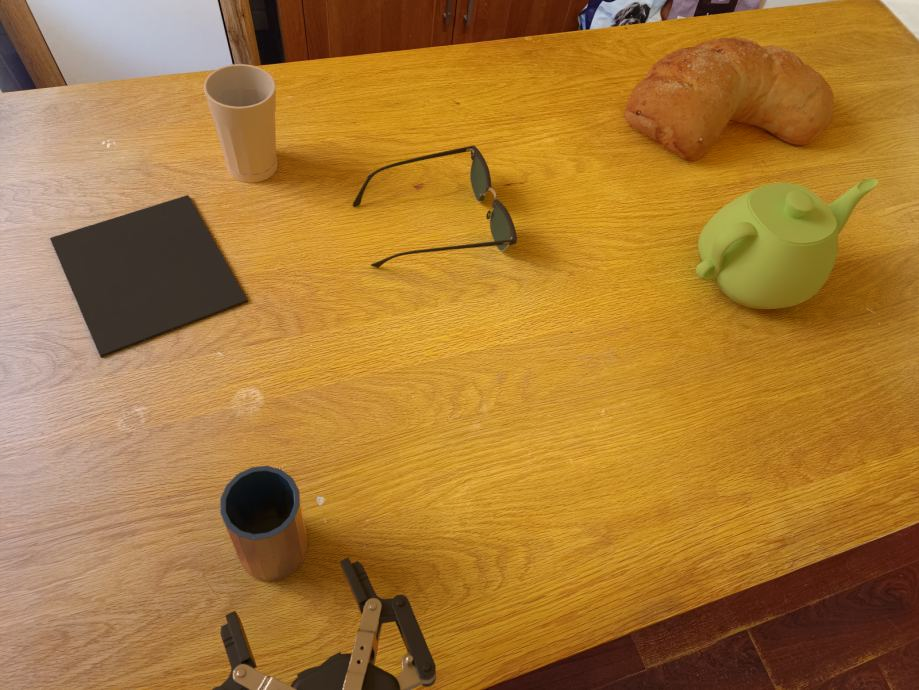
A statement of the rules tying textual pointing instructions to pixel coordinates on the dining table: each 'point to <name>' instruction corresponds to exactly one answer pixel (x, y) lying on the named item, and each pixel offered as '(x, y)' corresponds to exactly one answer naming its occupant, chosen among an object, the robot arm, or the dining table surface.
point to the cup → (244, 119)
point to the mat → (146, 274)
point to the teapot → (775, 243)
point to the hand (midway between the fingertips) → (289, 589)
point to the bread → (729, 96)
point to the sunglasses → (481, 185)
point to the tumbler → (265, 522)
